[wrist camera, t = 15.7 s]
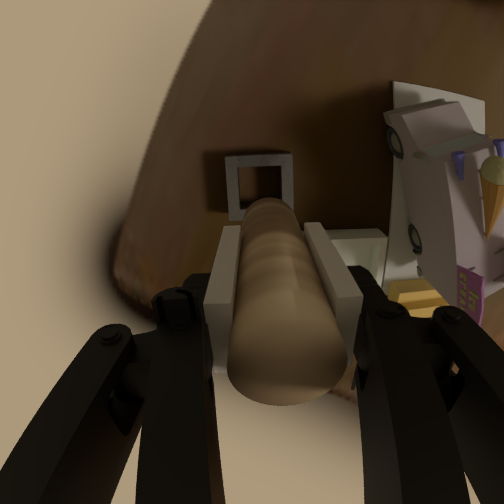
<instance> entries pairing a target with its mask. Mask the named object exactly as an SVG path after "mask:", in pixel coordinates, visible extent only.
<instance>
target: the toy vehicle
mask: <svg viewBox="0 0 504 504" xmlns="http://www.w3.org/2000/svg"><path fill="white" fill-rule="evenodd" d="M383 115H384V118H385V122H386V124H388V125H389V126H390V127H389V128H388V130H387V133H386V134H387V141H388V145H389V148H390V150H391V151H392V153H393V154H394V155H395V157H396V158H399V159H403V160H402V161H400V162H399V166H400V170H401V174H402V179H403V183H404V188H405V193H406V197H407V202H408V208H409V213H410V219H411V224H410V225H409V227H408V235H409V238H410V241H411V244H412V246H413V247H414V249H413V250H412V251H413V252H414V253H415V254H416V257H417V263H418V266H417V274H418V276H419V277H420V278H422V277H424V278H425V279H426V280H427V281H428V282H429V283H430V284H431V286H432V287H433V288H434V289H435V290H436V291H437V292H438V293H439V294H440V295H441V296H442V297H443V299H444V300H445V301H446V302H447V303H448V304H449V305H451V306H455V307H457V308H460V309H462V310H463V311H464V312H466V313H467V314H468V315H469V316H470V317H471V318H472V319H473V320H474V321H475V322H476V323H477V324H478V325H479V326H480V327H481V320H482V316H483V311H484V298H486V297H487V296H489V295H491V294H493V293H494V292H496V291H498V290H499V289H501V288H503V287H504V139H494V140H493V141H492V140H490V139H488V138H486V137H485V136H487V137H491V136H490V135H486V134H479V133H477V132H476V131H474V129H473V127H472V125H471V123H470V121H469V119H468V117H467V115H466V113H465V112H464V110H463V108H462V106H461V104H460V103H459V101H445V99H444V98H443V99H436V100H432V101H427V102H423V103H418V104H414V105H410V106H406V107H402V108H398V109H394V110H390V111H386V112H383Z"/></svg>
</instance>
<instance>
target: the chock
mask: <svg viewBox="0 0 504 504" xmlns="http://www.w3.org/2000/svg"><path fill="white" fill-rule="evenodd" d="M388 299H389V300H390V301H394V302H397V303H400V304H401V305H403V306H405V307H406V309H407V310H408V311H409V313H410V316H413V317H421V318H426V317H432V314H433V311H434V310H435V309H436V308H437V307H439V306H444V305H449V304H448V303H447V302H446V301H445V300H444V299H443V297H442V296H441V295H440V294H439V293H438V292H437V291H436V290H435V289H434V288H433V287H432V286H431V284H430V283H429V282H428V281H427V280H426V279H425V278H424V279H414V280H403V281H392V282H390V287H389V293H388Z"/></svg>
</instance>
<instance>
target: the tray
mask: <svg viewBox="0 0 504 504" xmlns="http://www.w3.org/2000/svg"><path fill="white" fill-rule="evenodd" d="M325 231H326V233H327V234H328V236H329V238H330V239H331V241H332V243H333V244H334V246H335V248H336V249H337V251H338V253H339V254H340V256H341V258H342V259H343V261H344V263H345V264H346V266H355V265H361V266H362V267H364V268H366V269H367V270H369V271H370V273H371V274H372V275H373V277H374V279H375V280H376V281H377V283H378V285H379V286H380V287H381V285H382V278H383V271H384V264H385V257H386V249H387V240H388V237H387V236H386V235H385V234H384V233H382V232H381V231H380V230H379V229H378V228H370V229H339V230H325ZM301 232H302V234H303V236H304V231H301Z"/></svg>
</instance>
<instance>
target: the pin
mask: <svg viewBox="0 0 504 504" xmlns="http://www.w3.org/2000/svg"><path fill="white" fill-rule="evenodd" d="M347 362H348V354H347V350H346V347H345V344H344V341H343V338H342V335H341V332H340V330H339V327H338V324H337V321H336V319H335V316H334V314H333V311H332V308H331V305H330V303H329V300H328V298H327V295H326V292H325V290H324V287H323V284H322V282H321V279H320V277H319V274H318V271H317V269H316V266H315V264H314V261H313V259H312V256H311V254H310V251H309V249H308V246H307V244H306V241H305V239H304V236H303V234H302V232H301V229H300V227H299V224H298V222H297V219H296V217H295V215H294V212H293V211H292V209H291V208H290V206H289V205H288V204H287V203H285V202H284V201H282V200H280V199H277V198H269V197H268V198H262V199H259V200H257V201H255V202H254V203H252V204H251V205H250V206H249V207H248V208H247V210H246V212H245V214H244V217H243V224H242V232H241V249H240V259H239V268H238V278H237V287H236V297H235V307H234V317H233V325H232V328H231V331H230V339H229V348H228V358H227V374H228V377H229V380H230V382H231V383H232V385H233V386H234V387H235V388H236V390H237V391H239V392H240V393H241V394H242V395H244V396H246V397H247V398H249V399H251V400H253V401H256V402H259V403H263V404H267V405H277V406H288V405H296V404H301V403H305V402H308V401H310V400H313V399H315V398H318V397H320V396H322V395H323V394H325V393H326V392H328V391H329V390H331V389H332V388H333V387H334V386H335V385H336V384H337V383H338V382H339V380H340V379H341V378H342V376H343V374H344V372H345V370H346V367H347Z"/></svg>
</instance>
